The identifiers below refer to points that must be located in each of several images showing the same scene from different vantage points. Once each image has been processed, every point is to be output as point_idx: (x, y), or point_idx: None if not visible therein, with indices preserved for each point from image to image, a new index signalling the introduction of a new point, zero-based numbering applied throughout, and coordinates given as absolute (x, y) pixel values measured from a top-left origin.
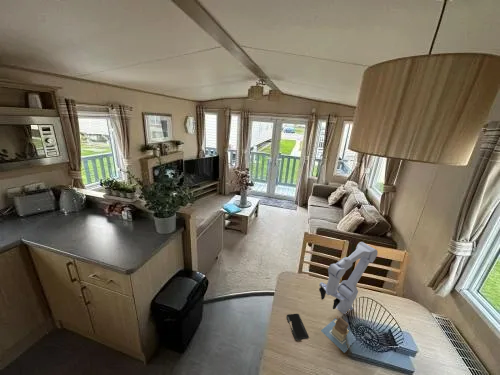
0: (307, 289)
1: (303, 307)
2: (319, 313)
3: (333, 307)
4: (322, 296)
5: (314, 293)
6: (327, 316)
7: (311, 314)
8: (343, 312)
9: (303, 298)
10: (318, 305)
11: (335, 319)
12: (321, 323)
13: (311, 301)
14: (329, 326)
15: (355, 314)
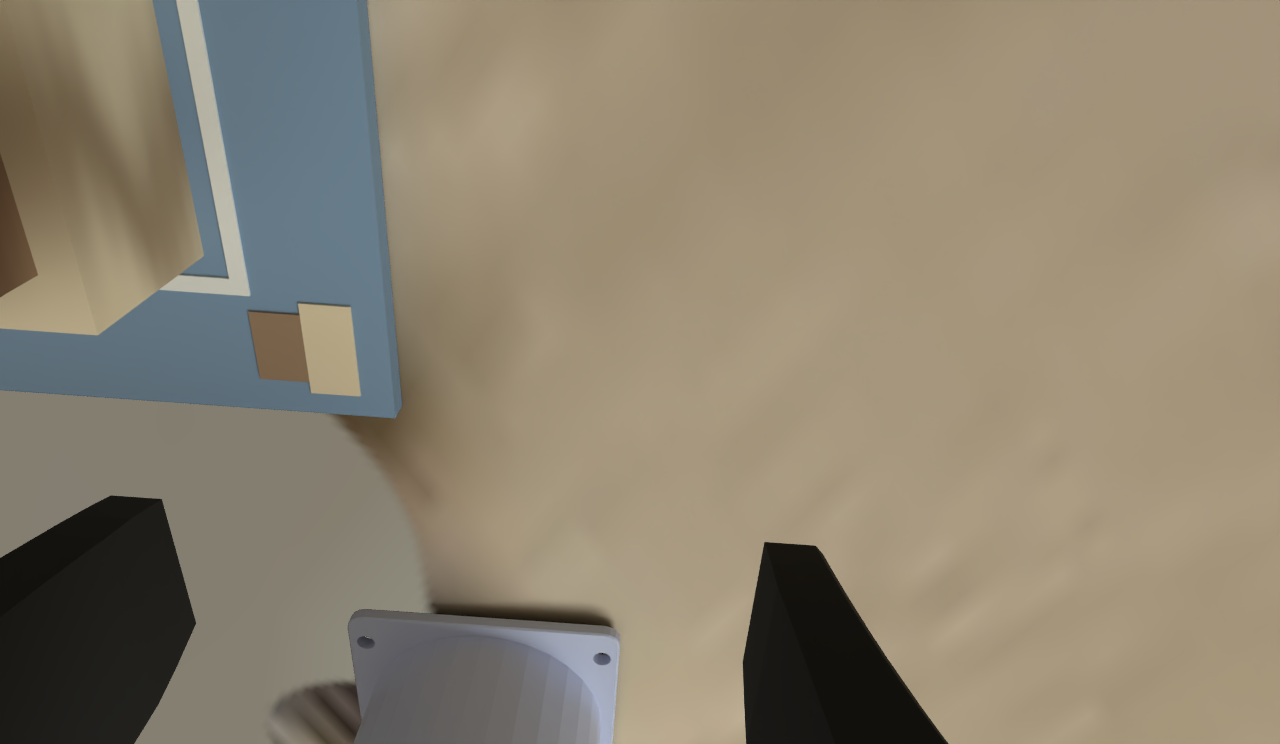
0: (1265, 591)
1: (1149, 42)
2: (715, 246)
3: (38, 554)
4: (811, 716)
5: (1078, 611)
6: (543, 328)
7: (850, 31)
8: (402, 640)
9: (1264, 308)
10: (854, 421)
11: (372, 390)
12: (502, 12)
13: (1042, 390)
14: (304, 92)
15: (283, 737)
